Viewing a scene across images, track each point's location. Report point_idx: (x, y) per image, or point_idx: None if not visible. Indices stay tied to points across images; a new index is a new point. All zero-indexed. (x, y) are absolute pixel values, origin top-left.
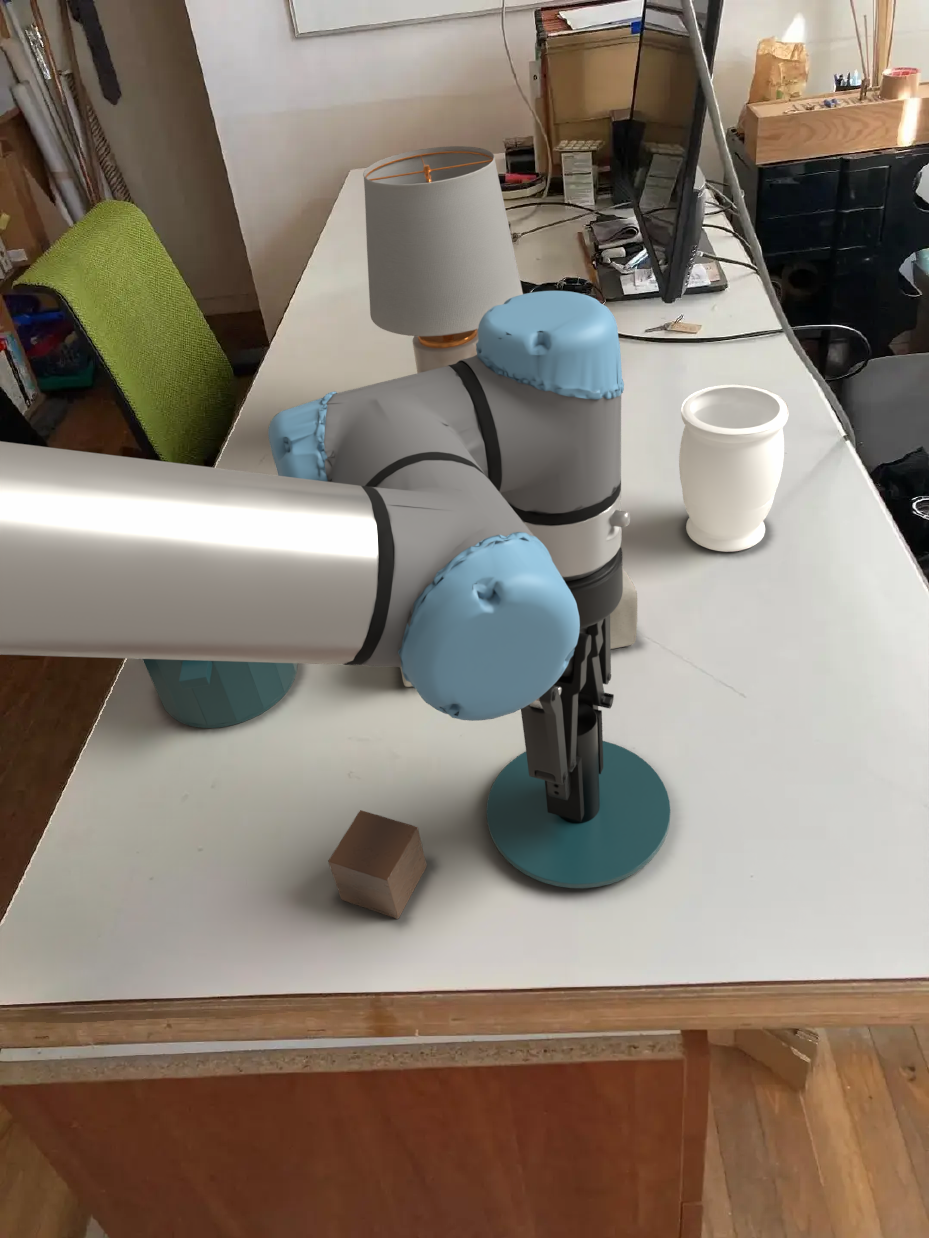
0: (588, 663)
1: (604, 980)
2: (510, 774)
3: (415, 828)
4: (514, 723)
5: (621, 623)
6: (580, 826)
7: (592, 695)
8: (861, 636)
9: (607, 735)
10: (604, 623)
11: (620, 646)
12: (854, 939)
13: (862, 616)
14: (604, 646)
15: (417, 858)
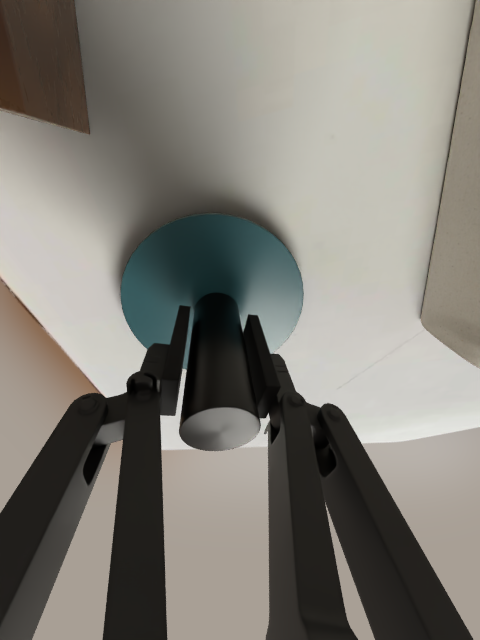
0: (271, 579)
1: (63, 344)
2: (250, 237)
3: (18, 110)
4: (342, 218)
5: (447, 332)
6: (192, 317)
7: (271, 443)
8: (373, 427)
9: (311, 314)
10: (373, 631)
11: (422, 312)
12: (161, 435)
13: (389, 427)
14: (337, 534)
15: (43, 121)
